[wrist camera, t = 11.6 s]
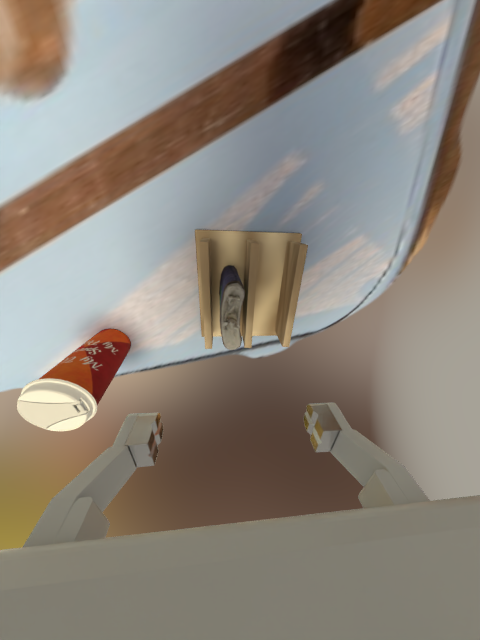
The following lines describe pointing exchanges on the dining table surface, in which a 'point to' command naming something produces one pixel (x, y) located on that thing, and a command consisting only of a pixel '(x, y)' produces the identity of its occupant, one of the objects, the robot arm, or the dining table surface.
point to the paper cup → (74, 384)
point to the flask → (230, 306)
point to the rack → (251, 280)
